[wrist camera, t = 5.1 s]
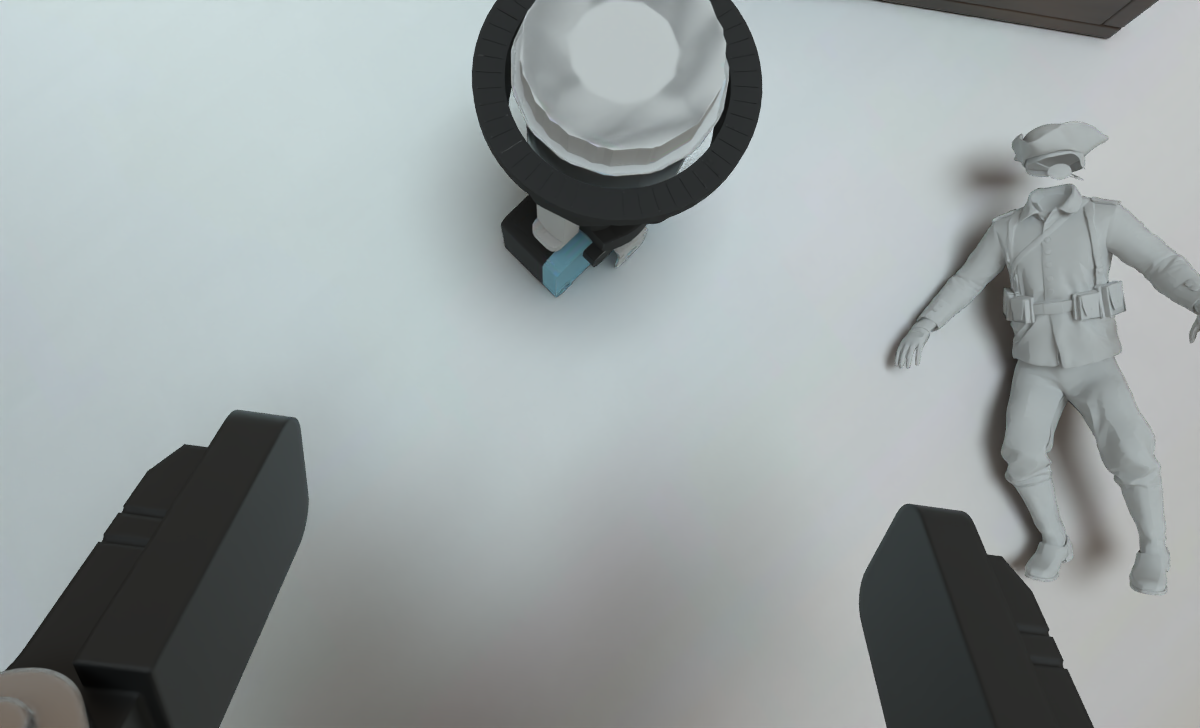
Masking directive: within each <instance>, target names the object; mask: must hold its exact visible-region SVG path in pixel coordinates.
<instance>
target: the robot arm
mask: <svg viewBox="0 0 1200 728" xmlns="http://www.w3.org/2000/svg"><path fill="white" fill-rule="evenodd" d="M308 505H309V498H308V488H307V479H306V471H305V462H304V454H303V445H302V437H301V429H300V424H299V422H298V420H297V419H296V418H294V417H287V416H279V415H272V414H265V413H257V412H250V411H243V410H235V411H233V412H231V414H230V415H229V416H228V417H227V418H226V420H225V421H224V423H223V424H222V426H221V427H220V429H219V431H218V432H217V434H216V435H215V437H214V438H213V440H212V442H211V443H210V445H209V446H208V447H201V446H194V445H186V444H184V445H183V446H182V447H180V448H179V449H177V450H176V451H175V452H173V453H172V454H171V455H169V456H168V457H167V458H165V459H164V460H162V461H161V462H160V463H158V464H157V465H156V466H154V467H153V468H151V469H150V470H149V471H147V473H146V474H145V476H144V477H143V478H142V480H141V481H140V483H139V484H138V486H137V487H136V488H135V490H134V491H133V493H132V494H131V496H130V497H129V499H128V500H127V501H126V503H125V504H124V506H123V507H124V508H123V511H122V513H118V514H117V516H116V517H115V519H114V520H113V521H112V523H111V524H110V526H109V527H108V529H107V530H106V532H105V533H104V538H103V540H102V542H98V543H97V544H96V546H95V547H94V549H93V550H92V552H91V553H90V555H89V556H88V557H87V559H86V560H85V562H84V563H83V565H82V566H81V567H80V569H79V570H78V572H77V573H76V575H75V576H74V578H73V579H72V580H71V582H70V583H69V585H68V586H67V588H66V589H65V590H64V592H63V593H62V595H61V596H60V598H59V599H58V600H57V602H56V603H55V605H54V606H53V608H52V609H51V611H50V612H49V613H48V615H47V616H46V618H45V619H44V621H43V622H42V623H41V625H40V626H39V628H38V629H37V631H36V632H35V634H34V635H33V636H32V638H31V639H30V641H29V642H28V644H27V645H26V646H25V648H24V649H23V651H22V652H21V653H20V654H19V656H18V657H17V658H16V659H15V661H14V662H13V663H12V664H11V665H10V666H9V667H8V668H7V669H6V670H5V671H3V672H0V728H219V727H220V724H221V722H222V720H223V718H224V715H225V713H226V711H227V708H228V706H229V704H230V702H231V699H232V697H233V695H234V693H235V690H236V688H237V686H238V683H239V681H240V679H241V677H242V674H243V672H244V670H245V668H246V665H247V663H248V661H249V659H250V656H251V654H252V652H253V649H254V647H255V645H256V643H257V640H258V638H259V636H260V634H261V631H262V629H263V627H264V624H265V622H266V620H267V618H268V615H269V613H270V611H271V609H272V606H273V604H274V602H275V599H276V597H277V595H278V593H279V590H280V588H281V586H282V584H283V581H284V579H285V577H286V575H287V572H288V570H289V568H290V565H291V563H292V561H293V559H294V556H295V554H296V552H297V550H298V547H299V545H300V542H301V540H302V537H303V533H304V530H305V526H306V521H307V515H308ZM859 611H860V618H861V623H862V627H863V631H864V636H865V640H866V644H867V648H868V652H869V656H870V660H871V664H872V668H873V673H874V677H875V681H876V685H877V689H878V693H879V697H880V701H881V706H882V710H883V714H884V718H885V722H886V726H887V728H1094V727H1093V725H1092V722H1091V720H1090V718H1089V716H1088V714H1087V711H1086V709H1085V707H1084V705H1083V703H1082V700H1081V698H1080V696H1079V694H1078V692H1077V689H1076V687H1075V685H1074V683H1073V681H1072V678H1071V676H1070V674H1069V672H1068V670H1067V669H1064V668H1063V659H1062V656H1061V654H1060V652H1059V650H1058V648H1057V645H1056V643H1055V641H1054V639H1053V637H1049V634H1048V631H1049V628H1048V626H1047V623H1046V621H1045V619H1044V617H1043V615H1042V612H1041V610H1040V608H1039V606H1038V604H1037V601H1036V599H1035V597H1034V595H1033V593H1032V591H1031V590H1030V589H1029V587H1028V586H1027V585H1026V584H1025V583H1024V582H1023V580H1022V579H1021V578H1020V577H1019V576H1018V575H1017V574H1016V572H1015V571H1014V570H1013V569H1012V568H1011V567H1010V565H1009V564H1008V563H1007V562H1006V561H1005V560H1004V558H1003V557H1002V556H994V555H987V553H986V551H985V548H984V546H983V544H982V541H981V539H980V536H979V534H978V532H977V529H976V527H975V525H974V523H973V521H972V519H971V518H970V516H969V515H968V514H967V513H965V512H963V511H958V510H950V509H943V508H936V507H928V506H921V505H914V504H905V505H904V506H902V507H901V508H900V509H899V511H898V512H897V514H896V516H895V518H894V519H893V521H892V523H891V525H890V527H889V529H888V530H887V532H886V534H885V536H884V538H883V540H882V541H881V543H880V545H879V547H878V549H877V551H876V552H875V554H874V556H873V558H872V560H871V562H870V563H869V565H868V567H867V569H866V571H865V573H864V575H863V578H862V582H861V587H860V594H859Z"/></svg>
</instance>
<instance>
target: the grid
mask: <svg viewBox="0 0 1200 728" xmlns="http://www.w3.org/2000/svg"><path fill="white" fill-rule="evenodd" d="M881 1H887V2H893V3H899V4H905V5H911V6H917V7H923V8H929V9H935V10H941V11H947V12H953V13H959V14H965V15H971V16H977V17H983V18H989V19H995V20H1001V21H1007V22H1013V23H1019V24H1025V25H1031V26H1037V27H1043V28H1049V29H1055V30H1061V31H1067V32H1073V33H1079V34H1085V35H1091V36H1097V37H1103V38H1110V37H1111V36H1113V35H1114V34H1115V33H1117V32H1118V31H1119V30H1120V29H1121V27H1124V26H1125V25H1127V24H1128V23H1129V22H1131V21H1132V20H1133V19H1135V18H1136V17H1137V16H1139V15H1140V14H1141V13H1143V12H1144V11H1145V10H1147V9H1148V8H1149V7H1151V6H1152V5H1153V4H1154V3H1156V2H1157V1H1158V0H881Z"/></svg>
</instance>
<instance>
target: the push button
mask: <svg viewBox="0 0 1200 728" xmlns="http://www.w3.org/2000/svg"><path fill="white" fill-rule="evenodd" d="M511 88H512V91H513V95H514V97H515V100H516V102H517V104H518V106H519V108H520V110H521V113H522V115H523V117H524V119H525V121H526V125H527V138H528V143H527V142H526V140H525V139H524V137H523V136H522V134H521V133H520V131H519V129H518V128H517V126H516V123H515V121H514V119H513V117H512V115H511V112H510V108H509V98H510V92H511ZM472 89H473V96H474V103H475V108H476V113H477V117H478V120H479V124H480V127H481V130H482V133H483V135H484V138H485V140H486V142H487V144H488V146H489V148H490V150H491V152H492V154H493V155H494V157H495V158H496V160H497V161H498V163H499V164H500V166H501V167H502V168H503V169H504V171H505V172H506V173H507V174H508V176H509V177H510V178H511V179H512V180H513V181H514V182H515V183H516V184H517V185H518V186H519V187H520V188H522V189H523V190H524V191H525V192H527V193H528V194H529V195H528V196H527V197H526V198H525V199H524V200H523V201H522V202H521V203H520V204H519V205H518V206H517V207H516V208H515V209H513V210H512V211H511V212H510V213H509V214H508V215H507V216H506V217H505V219H504V220H503V222H502V224H501V228H502V233H503V238H504V244H505V247H506V248H507V249H508V250H509V251H510V252H511V253H512V254H513V255H514V256H515V257H516V258H517V259H518V260H519V261H520V262H521V263H522V264H523V265H524V266H525V267H526V268H527V269H528V270H529V271H530V272H531V273H532V274H533V275H534V276H535V277H536V278H537V279H538V280H539V281H540V282H541V283H542V284H543V285H544V286H545V287H546V288H547V289H548V290H549V291H550V292H551V293H552V294H553V295H554V296H555V297H558V296H559V295H560V294H562V293H563V292H564V291H565V290H566V289H567V288H568V287H569V286H570V285H571V284H572V281H573V280H574V279H576V278H577V277H578V276H579V275H580V274H581V273H582V272H583V271H584V270H585V269H586V268H587V267H588V266H589V265H590V264H591V265H592V266H593V267H595V266H597V265H598V264H599V263H600V262H601V261H602V260H603V259H605V258H606V257H607V256H608V255H609V254H610V253H611V252H612V251H614V252H616V253H617V255H618V256H619V257H618V258H617V261H616V264H615V266H614V267H615V268H617V267H619V266H620V265H621V264H622V263H623V262H624V261H625V260H626V259H627V258H628V257H629V256H630V255H631V254H632V253H633V252H634V251H635V250H636V249H637V248H638V247H639V246H640V245H641V244H642V243H643V240H644V238H645V236H646V232H647V231H648V229H647V228H646V227H645V226H646V225H647V224H656V223H660V222H662V221H664V220H666V219H667V218H669V217H671V216H674V215H676V214H679V213H681V212H683V211H685V210H687V209H689V208H691V207H693V206H694V205H696V204H697V203H699V202H700V201H702V200H703V199H705V198H706V197H707V196H709V195H710V194H711V193H712V192H713V191H715V190H716V189H717V188H718V187H719V186H720V185H721V184H722V183H723V182H724V181H725V180H726V178H727V177H728V176H729V175H730V173H731V172H732V171H733V169H734V168H735V167H736V165H737V164H738V162H739V160H740V159H741V157H742V156H743V154H744V152H745V151H746V149H747V147H748V145H749V143H750V141H751V138H752V136H753V134H754V131H755V128H756V125H757V122H758V117H759V113H760V108H761V99H762V74H761V66H760V61H759V56H758V52H757V48H756V46H755V43H754V40H753V37H752V34H751V32H750V30H749V28H748V26H747V24H746V22H745V20H744V19H743V17H742V15H741V14H740V12H739V10H738V9H737V8H736V6H735V5H734V4H733V2H732V1H731V0H497V1H496V2H495V4H494V5H493V7H492V9H491V10H490V12H489V14H488V15H487V17H486V19H485V21H484V24H483V26H482V28H481V31H480V34H479V37H478V40H477V43H476V47H475V52H474V57H473V67H472ZM713 127H714V130H713V136H712V141H711V144H710V147H709V148H708V150H707V151H706V152H705V153H704V154H703V155H702V156H701V157H700V158H699V159H698V160H697V161H696V162H695V163H694V164H692V165H691V166H690V167H688V168H687V169H686V170H684V171H682V172H681V173H679V174H677V173H678V171H679V169H680V168H681V166H682V164H683V162H684V161H685V159H686V157H687V156H688V155H690V154H691V153H692V152H694V151H695V150H696V149H697V148H698V147H699V146H700V145H701V144H702V142H703V141H704V139H705V138H706V137H707V135H708V134H709V133H710V131H711V130H712V129H713Z"/></svg>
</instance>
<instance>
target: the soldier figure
mask: <svg viewBox="0 0 1200 728" xmlns="http://www.w3.org/2000/svg"><path fill="white" fill-rule="evenodd" d="M1107 140H1108V137H1107V136H1106V135H1104V134H1103V133H1101V132H1100V131H1099V130H1098V129H1096V128H1095V127H1094V126H1092V125H1089V124H1087V123H1083V122H1078V121H1072V122H1066V123H1063V124H1047V125H1043V126H1040V127H1037V128H1035V129H1034V130H1032V131H1030V132H1029V133H1028V134H1027V135H1026V136H1025V137H1024V139H1023V135H1022V134H1020V135H1019V136H1017V137H1016V138H1015V139H1014V141H1013V142H1012V148H1013V150H1014V152H1015V154H1016V156H1015V158H1014V160H1015V161H1020V162H1021V163H1022V165H1023V166H1024V167H1025V168H1026V172H1027V173H1028V174H1030V175H1032V176H1038V177H1049V176H1050V177H1051V178H1053V179H1057V180H1061V179H1065V178H1067V177H1069V176H1070V175H1073V174H1071V173H1072V172H1075V171H1078V170H1080V169H1082V168H1084V169H1085V167H1084V166H1085V156H1086V155H1087V154H1088V153H1089V152H1090V151H1091V150H1093V149H1094V148H1095V147H1097V146H1098V145H1100V144H1102V143H1104V142H1105V141H1107ZM1073 176H1074V177H1073ZM1073 176H1070V177H1072V178H1075V179H1078V180H1083V179H1082V178H1080V177H1078V176H1076V175H1073ZM1120 204H1121V201H1115V200H1107V199H1101V198H1098V197H1092V198H1089V197H1088V198H1087V197H1086V196H1081V194H1080V192H1079V191H1078V190H1077V188H1076V187H1075V185H1072V184H1065V185H1059V186H1054V187H1049V188H1038V189H1036V190H1034V191H1032V192H1031V193H1030V195H1029V197H1028V201H1027V203H1026V204H1025V206H1024V207H1023V208H1020V209H1017V210H1016V209H1014V210H1012V211H1009V212H1008V213H1005V214H1003V215H999V216H997V217H995V218H994V219H993V220H992V222H993V223H992V225H991V226H990V228H989V229H988V230H987V231H986V233H985V235H984V236H983V238H982V239H981V241H980V242H979V244H978V246H977V247H976V249H975V250H974V251H973V252H972V253H971V254H970V255H969V257H968V259H967V261H966V263H965V264H964V265H963V266H962V267H961V269H960V270H958V271H957V272H956V274H955V275H954V276H953V277H950V278H949V280H948V281H947V283H946V284H945V285H944V287H943V288H942V289H941V290H940V291H939V293H938V294H937V295H936V296H935V297H934V298H933V300H932V301H931V302H930V304H929V305H928V306H927V307H926V308H925V309H924V311H923V312H922V313H921V315H920V316H919V317H918V318H917V321H916V322H917V323H915V324H914V325H913V327H912V328H911V329H910V331H909V332H908V334H907V335H906V336H905V337H904V338H903V340H902V341H901V343H900V345H899V347H898V350H897V352H896V356H895V366H898V364H899V361H900V368H902V367H903V366H904V362H905V357H906V359H907V361H906V368H910V366H911V361H912V357H913V354H914V351H915V349H916V348H917V350H916V358H915V365H916V366H918V365H919V364H920V359H921V353H922V349H923V347H924V345H925V343H926V342H927V340H928V338H929V336H930V332H933V331H936V330H938V329H940V328H941V327H943V326H944V325H945V324H946V322H948V321H949V320H950V319H951V318H952V317H954V316H955V314H957V313H959V312H960V311H961V310H962V309H964V308H965V307H966V306H967V305H968V304H969V303H970V302H971V301H972V300H973V299H974V298H975V297H976V296H977V295H978V294H979V293H980V292H981V291H982V290H983V289H984V288H985V286H986V285H987V283H989V282H991V281H992V280H993V279H994V278H995V277H996V275H997V274H998V273H1000V272H1001V271H1002V270H1003V269H1004V267H1005V265H1007V268H1008V272H1009V275H1010V282H1011V288H1004V294H1003V314H1004V316H1005V318H1006V319H1007V320H1009V321H1011V324H1010V325H1011V327H1013V331H1014V333H1015V337H1014V339H1013V349H1012V355H1013V358H1014V359H1018V362H1017V364H1016V367H1015V371H1014V375H1013V380H1012V386H1011V393H1010V398H1009V403H1008V406H1007V410H1006V433H1005V439H1004V443H1003V445H1002V449H1001V455H1002V457H1003V459H1004V460H1005V461H1006V462H1007V463H1008V464H1009V465H1008V468H1007V471H1006V472H1005V478H1006V479H1007V481H1008V482H1009V483H1011V484H1012V485H1014V486H1015V488H1016V489H1017V491H1018V492H1019V494H1020V495H1021V497H1022V499H1023V500H1024V502H1025V504H1026V506H1027V508H1028V510H1029V512H1030V514H1031V516H1032V518H1033V521H1034V524H1035V526H1036V527H1037V528H1038V530H1039V531H1040V532H1041V533H1042V537H1043V540H1042V541H1041V542H1040V543H1039V545H1038V547H1037V551H1036V552H1035V553H1034V554H1033V556H1032V557H1031V558H1030V560H1029V561H1028V563H1027V564H1026V566H1025V570H1026V572H1025V576H1026V577H1028V578H1031V579H1034V580H1038V581H1043V582H1049V581H1053V580H1056V579H1057V578H1058V577H1059V574H1058V571H1059V569H1060V565H1061V562H1062V563H1066V562H1069V561H1070V560H1071V559H1072V558H1073V552H1072V550H1073V547H1072V544H1071V542H1070V539H1069V537H1068V536H1067V535H1066V532H1065V528H1064V525H1063V523H1062V521H1061V518H1060V515H1059V510H1058V506H1057V502H1056V497H1055V491H1054V486H1053V482H1052V478H1051V475H1052V471H1051V469H1050V464H1051V463H1052V461H1051V460H1050V459H1049V458H1048V456H1047V454H1046V453H1048V452H1049V451H1050V450H1051V449H1052V447H1053V440H1054V432H1055V429H1056V427H1057V424H1058V421H1059V419H1060V416H1061V413H1062V411H1063V409H1064V407H1065V405H1066V403H1067V402H1068V401H1069V402H1070V403H1071V404H1072V405H1073V406H1074V407H1075V408H1076V409H1077V410H1078V411H1079V412H1080V413H1081V415H1082V416H1083V418H1084V420H1085V421H1086V423H1087V425H1088V426H1089V428H1090V430H1091V431H1092V433H1093V435H1094V436H1095V438H1096V442H1097V447H1098V449H1099V452H1100V455H1101V458H1102V461H1103V463H1104V465H1105V467H1106V468H1107V469H1108V470H1109V472H1111V473H1112V474H1114V481H1115V482H1116V483H1117V484H1118V485H1119V486H1120V487H1121V490H1122V494H1123V496H1124V499H1125V501H1126V504H1127V507H1128V510H1129V512H1130V514H1131V516H1132V518H1133V520H1134V522H1135V524H1136V526H1137V529H1138V533H1139V543H1140V550H1139V551H1138V553H1137V554H1136V559H1135V564H1134V566H1133V568H1132V571H1131V573H1130V575H1129V577H1130V586H1131V588H1132V589H1133V590H1135V591H1137V592H1140V593H1144V594H1150V595H1164V594H1166V592H1167V585H1166V584H1167V578H1166V572H1168V571H1169V569H1170V553H1169V550H1168V548H1167V547H1166V544H1165V541H1166V536H1165V532H1166V523H1165V518H1164V508H1163V489H1162V480H1161V475H1160V470H1161V466H1160V463H1159V462H1158V461H1157V460H1156V458H1155V455H1154V448H1155V437H1154V433H1153V431H1152V429H1151V427H1150V426H1149V424H1148V423H1147V421H1146V420H1145V418H1144V417H1143V416H1142V414H1141V413H1140V412H1139V409H1138V407H1137V405H1136V403H1135V400H1134V397H1133V395H1132V392H1131V390H1130V388H1129V386H1128V384H1127V382H1126V380H1125V377H1124V375H1123V374H1122V372H1121V370H1120V368H1119V366H1118V364H1117V362H1116V360H1115V357H1114V356H1115V355H1118V354H1120V353H1121V352H1122V346H1121V343H1120V340H1119V337H1118V334H1117V325H1116V321H1115V319H1114V318H1115V315H1116V314H1119V313H1121V312H1124V311H1126V306H1125V299H1124V293H1123V287H1122V281H1119V282H1118V281H1112V282H1108V273H1109V270H1110V266H1111V260H1112V255H1113V254H1114V255H1115V256H1117V257H1118V258H1119V259H1120V260H1121V261H1122V262H1124V263H1125V264H1127V265H1129V266H1131V267H1133V268H1135V269H1136V270H1137V271H1139V272H1140V273H1142V274H1143V275H1144V277H1145V278H1146V279H1147V280H1149V281H1150V282H1151V284H1152V285H1153V287H1154V288H1155V289H1156V290H1158V292H1160V293H1161V294H1164V295H1165V296H1166V297H1168V298H1170V299H1171V300H1172V301H1173V302H1175V303H1177V304H1179V305H1181V306H1183V307H1185V308H1187V309H1188V310H1190V311H1192V312H1193V313H1195V314H1197V318H1196V320H1195V322H1194V324H1193V325H1192V328H1191V330H1190V334H1189V339H1190V343H1193V342H1194V340H1195V339H1196V335H1197V332H1199V331H1200V275H1199V274H1198V272H1197V271H1196V270H1195V269H1193V267H1192V266H1191V264H1190V263H1189V262H1188V261H1187V260H1186V259H1185V258H1184V257H1183V256H1181V255H1179V254H1177V253H1176V252H1175V251H1174V250H1172V249H1171V248H1170V247H1169V246H1167V245H1166V244H1165V242H1164V241H1163V240H1162V239H1160V238H1159V237H1158V236H1156V235H1155V234H1153V233H1151V232H1150V231H1149V230H1148V229H1147V228H1146V227H1144V224H1143V223H1142V222H1141V221H1139V220H1138V219H1137V218H1136V217H1135V216H1134V215H1133V214H1132V213H1131V212H1130V211H1129V210H1127V209H1126V208H1124V207H1123V206H1122V205H1120ZM900 356H901V357H900Z"/></svg>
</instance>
